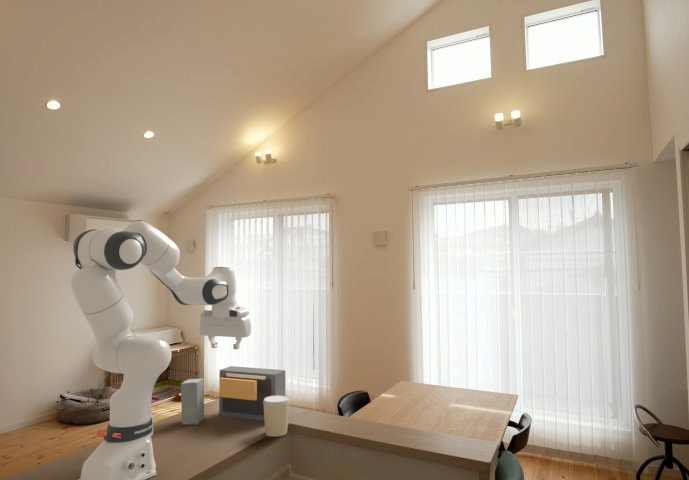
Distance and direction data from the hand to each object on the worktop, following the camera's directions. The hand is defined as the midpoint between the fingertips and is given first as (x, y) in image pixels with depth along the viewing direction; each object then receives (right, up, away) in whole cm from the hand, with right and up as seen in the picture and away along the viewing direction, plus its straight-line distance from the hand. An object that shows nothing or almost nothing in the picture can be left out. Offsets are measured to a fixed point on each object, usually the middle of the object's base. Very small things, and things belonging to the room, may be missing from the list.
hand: (225, 348), depth 166 cm
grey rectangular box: (+7, -31, +16) cm, 36 cm away
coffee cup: (+19, -30, -4) cm, 36 cm away
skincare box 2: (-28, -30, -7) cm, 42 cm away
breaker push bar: (+3, -21, +8) cm, 23 cm away
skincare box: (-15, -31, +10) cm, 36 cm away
